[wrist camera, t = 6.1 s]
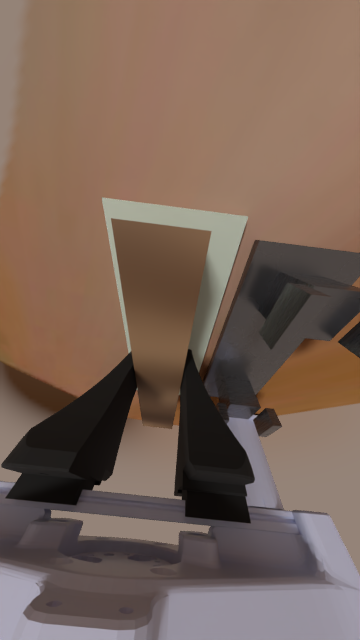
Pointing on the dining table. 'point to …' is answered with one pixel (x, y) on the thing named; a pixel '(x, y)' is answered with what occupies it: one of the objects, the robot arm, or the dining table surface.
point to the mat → (216, 266)
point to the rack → (280, 321)
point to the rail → (159, 307)
